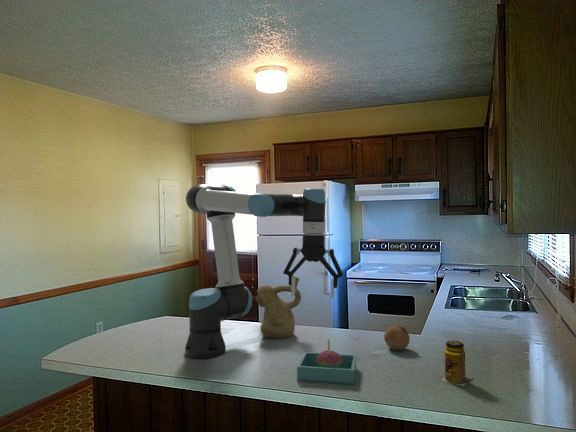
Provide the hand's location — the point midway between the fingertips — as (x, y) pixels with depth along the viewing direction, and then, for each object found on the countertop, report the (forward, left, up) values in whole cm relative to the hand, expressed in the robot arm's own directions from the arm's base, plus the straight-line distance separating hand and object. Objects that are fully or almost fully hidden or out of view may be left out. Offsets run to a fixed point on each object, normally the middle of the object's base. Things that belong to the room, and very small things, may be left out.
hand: (312, 296), depth 154 cm
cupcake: (+6, -6, -24) cm, 26 cm away
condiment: (+46, -3, -25) cm, 52 cm away
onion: (+29, +25, -25) cm, 45 cm away
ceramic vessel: (-20, +36, -25) cm, 48 cm away
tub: (+6, -6, -24) cm, 26 cm away
